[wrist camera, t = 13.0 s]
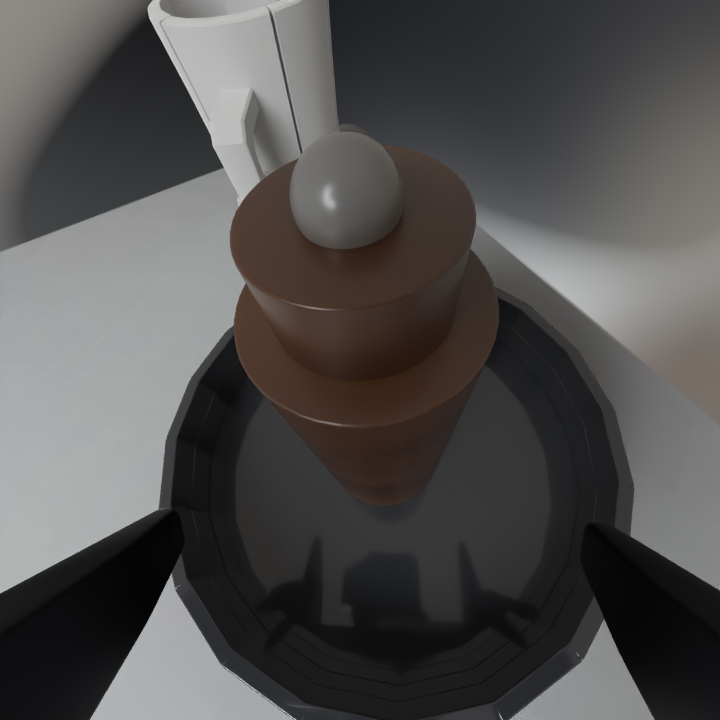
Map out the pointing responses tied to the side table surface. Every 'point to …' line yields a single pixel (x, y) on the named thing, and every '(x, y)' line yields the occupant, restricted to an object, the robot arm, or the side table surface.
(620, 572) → the robot arm
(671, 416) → the side table surface
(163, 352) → the side table surface
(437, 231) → the pepper mill
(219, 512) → the pan
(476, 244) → the side table surface
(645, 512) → the side table surface
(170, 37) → the cup
